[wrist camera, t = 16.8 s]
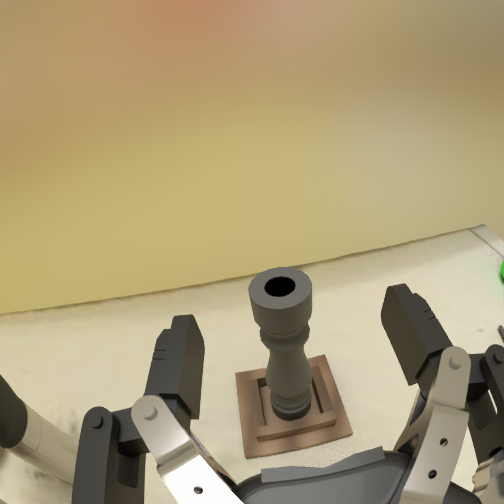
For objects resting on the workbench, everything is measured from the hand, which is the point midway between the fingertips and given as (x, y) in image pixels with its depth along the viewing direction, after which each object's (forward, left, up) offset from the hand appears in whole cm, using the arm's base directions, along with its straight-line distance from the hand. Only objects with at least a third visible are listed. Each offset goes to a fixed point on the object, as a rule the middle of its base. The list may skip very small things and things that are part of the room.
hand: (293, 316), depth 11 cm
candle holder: (+1, +11, -33) cm, 35 cm away
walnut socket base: (+1, +11, -34) cm, 36 cm away
